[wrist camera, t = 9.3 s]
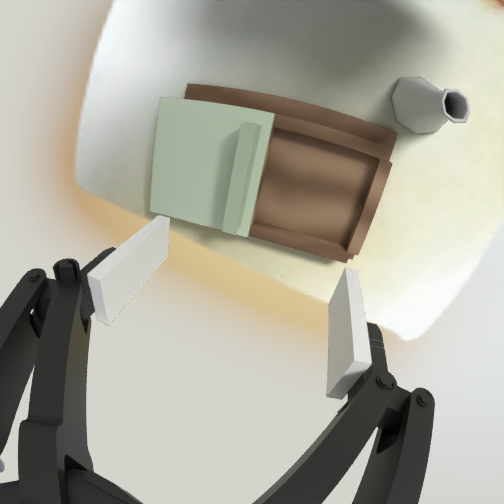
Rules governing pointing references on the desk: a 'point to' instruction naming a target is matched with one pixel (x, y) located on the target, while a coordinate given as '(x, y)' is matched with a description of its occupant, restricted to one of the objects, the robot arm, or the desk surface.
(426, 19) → the desk surface
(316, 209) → the tray
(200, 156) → the cover
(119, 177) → the desk surface
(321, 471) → the robot arm
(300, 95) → the desk surface
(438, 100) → the flask
